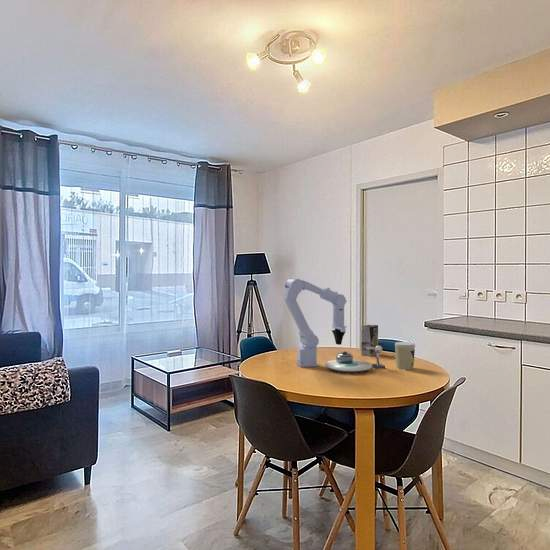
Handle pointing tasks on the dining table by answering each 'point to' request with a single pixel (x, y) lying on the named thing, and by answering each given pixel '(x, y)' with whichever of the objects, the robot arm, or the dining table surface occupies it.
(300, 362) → the robot arm
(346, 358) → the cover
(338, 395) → the dining table surface
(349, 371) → the turntable base
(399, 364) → the coffee cup
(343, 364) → the platter
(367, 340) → the coffee box
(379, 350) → the dial gauge
